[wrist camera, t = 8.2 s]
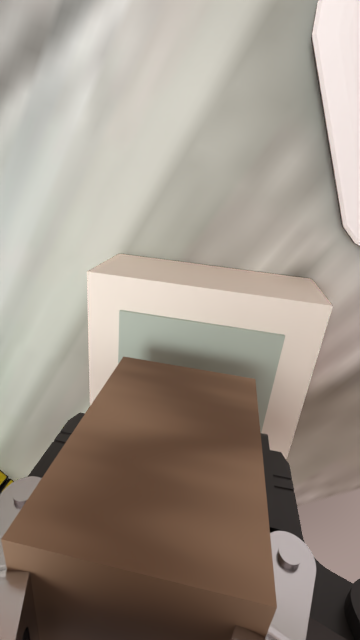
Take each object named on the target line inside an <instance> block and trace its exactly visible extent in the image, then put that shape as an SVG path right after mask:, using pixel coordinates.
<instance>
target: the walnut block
mask: <svg viewBox="0 0 360 640" xmlns="http://www.w3.org/2000/svg"><path fill="white" fill-rule="evenodd" d="M1 542H2V547H3V552H4V557H5V562H6V568H7V569H9V570H21V571H27V572H30V576H31V583H32V590H33V596H34V603H35V610H36V617H37V624H38V631H39V638H40V640H231V638H232V635H233V632H234V629H235V626H236V625H238V626H241V627H244V628H246V629H249V630H251V631H254V632H256V633H258V634H261V635H263V636H265V637H266V635H267V632H268V630H269V627H270V624H271V622H272V619H273V617H274V614H275V611H276V609H277V602H276V592H275V581H274V570H273V560H272V549H271V539H270V528H269V517H268V507H267V496H266V486H265V475H264V465H263V454H262V443H261V433H260V422H259V412H258V401H257V391H256V380H255V379H253V378H247V377H241V376H236V375H230V374H224V373H218V372H212V371H206V370H200V369H194V368H189V367H183V366H177V365H171V364H165V363H159V362H153V361H148V360H142V359H136V358H130V357H124V356H123V358H122V359H121V361H120V362H119V364H118V365H117V367H116V368H115V370H114V371H113V373H112V374H111V376H110V377H109V379H108V380H107V382H106V383H105V385H104V386H103V388H102V389H101V391H100V392H99V394H98V395H97V397H96V398H95V400H94V401H93V403H92V404H91V406H90V407H89V409H88V410H87V412H86V413H85V415H84V416H83V418H82V419H81V421H80V422H79V424H78V425H77V427H76V428H75V430H74V431H73V433H72V434H71V435H70V437H69V438H68V440H67V441H66V443H65V444H64V446H63V447H62V449H61V450H60V452H59V453H58V455H57V456H56V458H55V459H54V461H53V462H52V464H51V465H50V467H49V468H48V470H47V471H46V473H45V474H44V476H43V477H42V479H41V480H40V482H39V483H38V485H37V486H36V488H35V489H34V491H33V492H32V494H31V495H30V497H29V498H28V500H27V501H26V503H25V504H24V506H23V507H22V509H21V510H20V512H19V513H18V515H17V516H16V518H15V519H14V521H13V522H12V524H11V525H10V527H9V528H8V530H7V531H6V533H5V534H4V535H3V537H2V538H1Z"/></svg>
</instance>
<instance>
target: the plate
mask: <svg viewBox="0 0 360 640" xmlns="http://www.w3.org/2000/svg"><path fill="white" fill-rule="evenodd" d="M311 39H312V46H313V52H314V58H315V64H316V70H317V76H318V82H319V88H320V94H321V100H322V106H323V112H324V118H325V124H326V130H327V137H328V143H329V149H330V155H331V161H332V167H333V173H334V179H335V185H336V191H337V197H338V203H339V209H340V215H341V221H342V226H343V228H344V229H345V231H346V232H347V233H348V235H349V236H350V238H351V239H352V240H353V242H354V243H355V244H357V245H359V246H360V0H319V1H318V4H317V7H316V13H315V19H314V25H313V30H312V36H311Z"/></svg>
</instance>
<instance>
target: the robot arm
mask: <svg viewBox="0 0 360 640" xmlns="http://www.w3.org/2000/svg"><path fill="white" fill-rule="evenodd" d="M84 415H85V414H84V413H79V414H77V415H76V416H74V417H73V418H71V419H70V420H68V422H67V423H66V424H65V426H64V427H63V429H62V430H61V432H60V433H59V434H58V436H57V437H56V438H55V440H54V442H52V444H51V445H50V447H49V448H48V449H47V451H46V452H45V453H44V455H43V456H42V458H41V459H40V460H39V462H38V463H37V465H36V466H35V467H34V469H33V470H32V471H31V473H30V474H29V475H28V477H24V478H21V479H18V480H16V481H14V482H13V483H11V484H10V485H8V486H7V487H6V488H5V489H4V490H3V491H2V492H0V640H40V638H39V631H38V624H37V617H36V610H35V603H34V596H33V590H32V583H31V576H30V572H27V571H21V570H9V569H7V568H6V562H5V557H4V552H3V547H2V542H1V538H2V537H3V535H4V534H5V533H6V531H7V530H8V528H9V527H10V525H11V524H12V522H13V521H14V519H15V518H16V516H17V515H18V513H19V512H20V510H21V509H22V507H23V506H24V504H25V503H26V501H27V500H28V498H29V497H30V495H31V494H32V492H33V491H34V489H35V488H36V486H37V485H38V483H39V482H40V480H41V479H42V477H43V476H44V474H45V473H46V471H47V470H48V468H49V467H50V465H51V464H52V462H53V461H54V459H55V458H56V456H57V455H58V453H59V452H60V450H61V449H62V447H63V446H64V444H65V443H66V441H67V440H68V438H69V437H70V435H71V434H72V433H73V431H74V430H75V428H76V427H77V425H78V424H79V422H80V421H81V419H82V418H83V416H84ZM261 443H262V454H263V465H264V475H265V486H266V496H267V507H268V517H269V528H270V539H271V549H272V560H273V570H274V581H275V592H276V602H277V609H276V611H275V614H274V617H273V619H272V622H271V624H270V627H269V630H268V632H267V635H266V637H265V636H263V635H261V634H258V633H256V632H254V631H251V630H249V629H246V628H244V627H241V626H238V625H236V626H235V629H234V632H233V635H232V638H231V640H360V579H358V580H357V581H356V582H355V583H354V584H353V583H351V582H349V581H347V580H346V579H344V578H342V577H340V576H338V575H337V574H335V573H333V572H331V571H330V570H328V569H326V568H325V567H324V566H323V565H321V564H320V563H319V562H318V561H317V560H316V559H315V558H314V557H313V555H312V552H311V551H310V549H309V548H308V547H307V545H306V544H305V542H304V540H303V536H302V531H301V525H300V520H299V515H298V509H297V504H296V498H295V493H294V488H293V482H292V477H291V472H290V466H289V464H288V462H287V461H286V459H285V457H284V456H283V454H282V453H281V452H278V451H273V450H270V448H269V439H268V435H267V434H263V433H261Z"/></svg>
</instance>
